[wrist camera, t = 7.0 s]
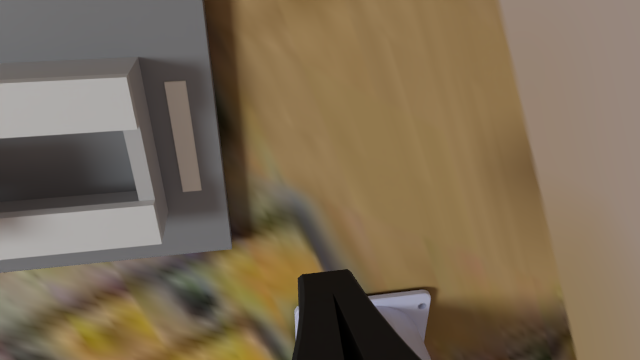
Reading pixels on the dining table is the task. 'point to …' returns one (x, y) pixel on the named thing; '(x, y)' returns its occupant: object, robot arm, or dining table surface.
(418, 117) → the dining table surface
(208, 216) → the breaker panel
